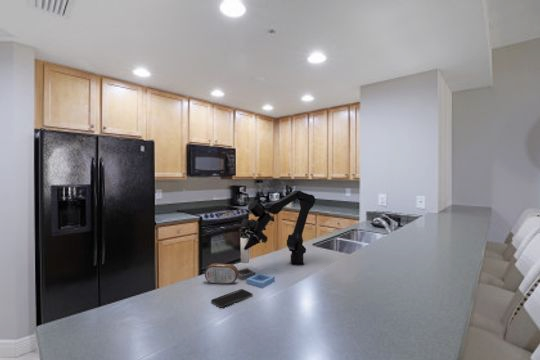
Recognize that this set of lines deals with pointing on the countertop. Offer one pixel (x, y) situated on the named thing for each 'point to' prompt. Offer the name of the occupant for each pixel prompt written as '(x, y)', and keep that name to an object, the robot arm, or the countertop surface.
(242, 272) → the gray socket
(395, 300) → the countertop surface
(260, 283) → the blue bezel socket
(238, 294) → the phone
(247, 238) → the cream canister charcoal lid
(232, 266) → the tin
